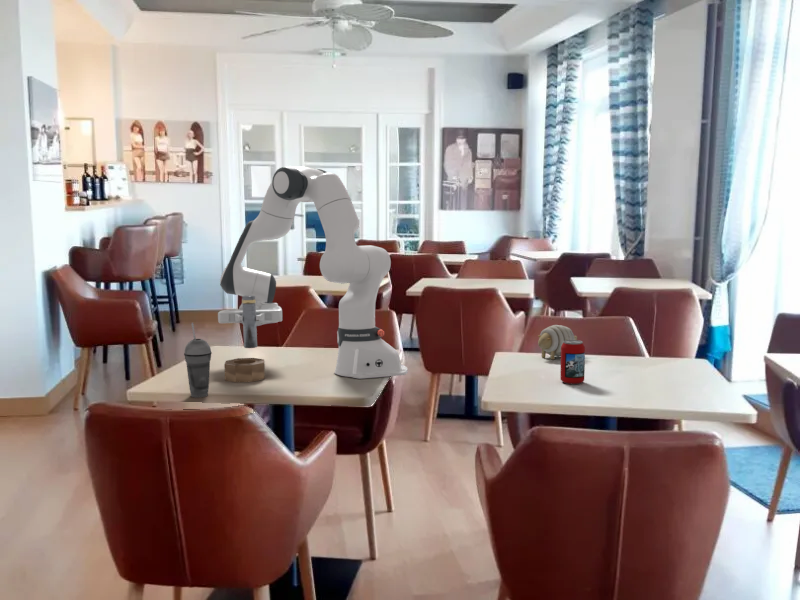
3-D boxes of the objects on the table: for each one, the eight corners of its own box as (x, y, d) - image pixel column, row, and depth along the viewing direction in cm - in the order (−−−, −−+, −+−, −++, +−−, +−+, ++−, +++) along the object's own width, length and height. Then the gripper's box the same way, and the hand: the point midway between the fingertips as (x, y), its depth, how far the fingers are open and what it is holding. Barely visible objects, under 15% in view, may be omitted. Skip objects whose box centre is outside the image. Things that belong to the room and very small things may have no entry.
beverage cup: (209, 398, 203) (206, 324, 201) (182, 398, 204) (179, 324, 201) (216, 392, 211) (213, 320, 208) (190, 392, 211) (187, 320, 209)
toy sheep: (528, 358, 256) (529, 325, 255) (562, 352, 266) (562, 320, 265) (552, 362, 248) (553, 329, 247) (586, 356, 258) (586, 324, 257)
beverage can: (570, 386, 215) (571, 344, 214) (555, 381, 221) (556, 340, 220) (589, 383, 218) (590, 342, 217) (573, 379, 224) (574, 338, 223)
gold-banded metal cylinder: (257, 345, 241) (255, 295, 239) (257, 347, 236) (255, 296, 235) (244, 346, 240) (242, 295, 238) (243, 348, 236) (241, 297, 234)
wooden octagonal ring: (265, 373, 235) (264, 357, 234) (263, 381, 223) (263, 364, 223) (227, 374, 233) (226, 358, 233) (223, 383, 222) (223, 366, 221)
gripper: (218, 304, 248) (214, 309, 235) (282, 302, 251) (281, 307, 237) (219, 324, 249) (215, 330, 235) (283, 321, 252) (282, 327, 238)
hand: (249, 318), depth 236 cm, fingers closed on gold-banded metal cylinder, 4 cm apart
